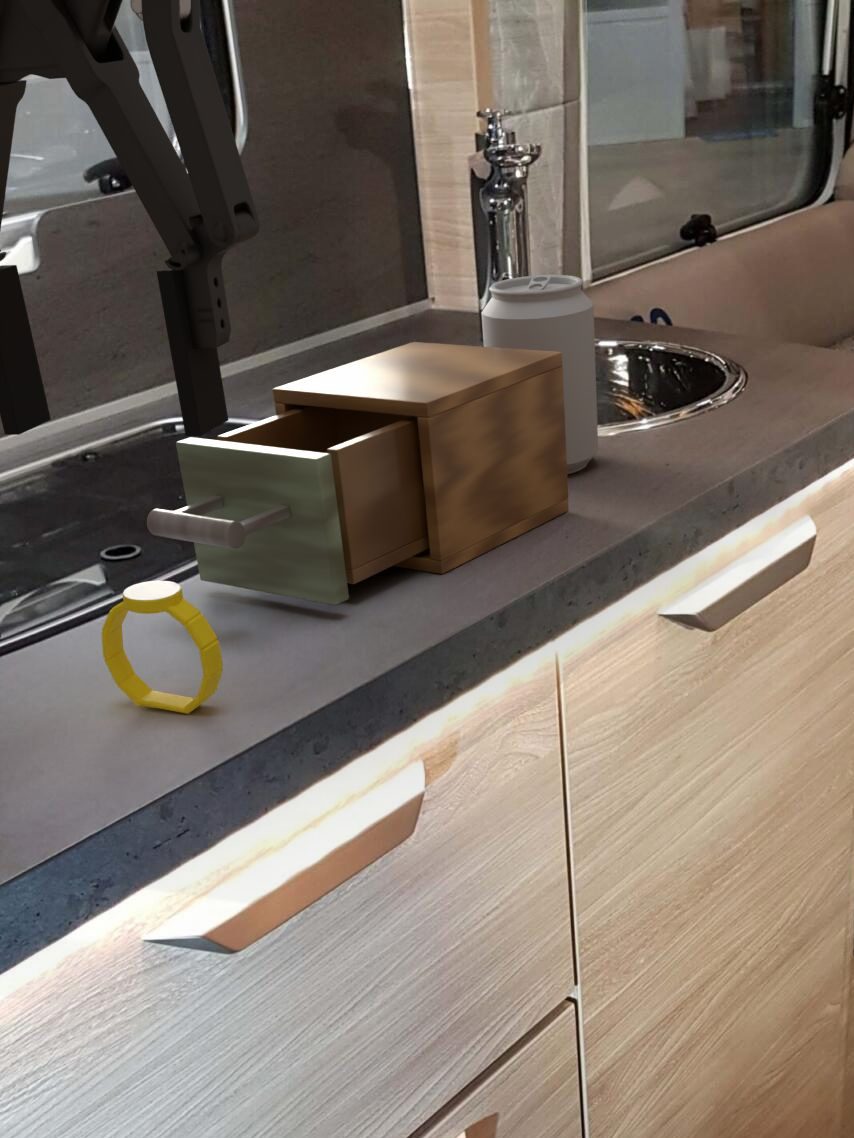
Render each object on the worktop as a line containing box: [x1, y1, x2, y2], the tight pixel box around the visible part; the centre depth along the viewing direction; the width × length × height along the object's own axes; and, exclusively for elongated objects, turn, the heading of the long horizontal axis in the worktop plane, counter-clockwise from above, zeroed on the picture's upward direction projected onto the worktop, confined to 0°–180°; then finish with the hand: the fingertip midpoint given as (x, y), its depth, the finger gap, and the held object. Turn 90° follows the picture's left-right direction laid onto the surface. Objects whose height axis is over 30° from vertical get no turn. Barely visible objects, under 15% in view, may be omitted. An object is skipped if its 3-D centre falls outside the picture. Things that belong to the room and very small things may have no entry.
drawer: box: [146, 406, 430, 606], centre depth 88 cm, size 18×10×8 cm, turn 145°
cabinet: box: [272, 341, 570, 575], centre depth 95 cm, size 14×12×10 cm
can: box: [481, 274, 599, 475], centre depth 105 cm, size 8×8×12 cm
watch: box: [100, 580, 224, 715], centre depth 75 cm, size 6×3×6 cm, turn 68°
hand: (115, 427), depth 69 cm, fingers open, 8 cm apart
